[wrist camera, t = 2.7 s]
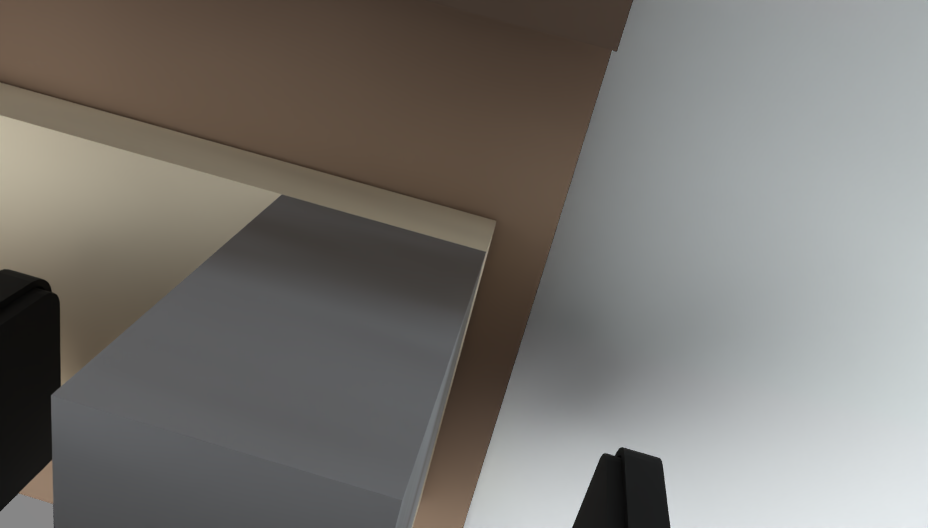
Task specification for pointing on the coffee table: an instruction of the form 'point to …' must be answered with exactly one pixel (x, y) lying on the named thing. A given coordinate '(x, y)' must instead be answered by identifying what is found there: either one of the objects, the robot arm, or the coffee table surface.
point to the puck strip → (148, 211)
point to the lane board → (363, 129)
